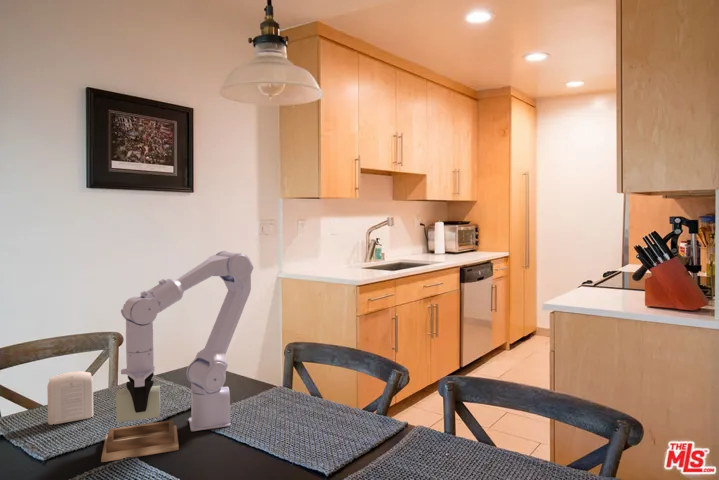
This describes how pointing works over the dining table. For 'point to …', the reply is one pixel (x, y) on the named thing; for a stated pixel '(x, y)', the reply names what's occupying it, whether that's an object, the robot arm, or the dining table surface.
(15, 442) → the dining table surface
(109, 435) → the slot board
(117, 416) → the beige block
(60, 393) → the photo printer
